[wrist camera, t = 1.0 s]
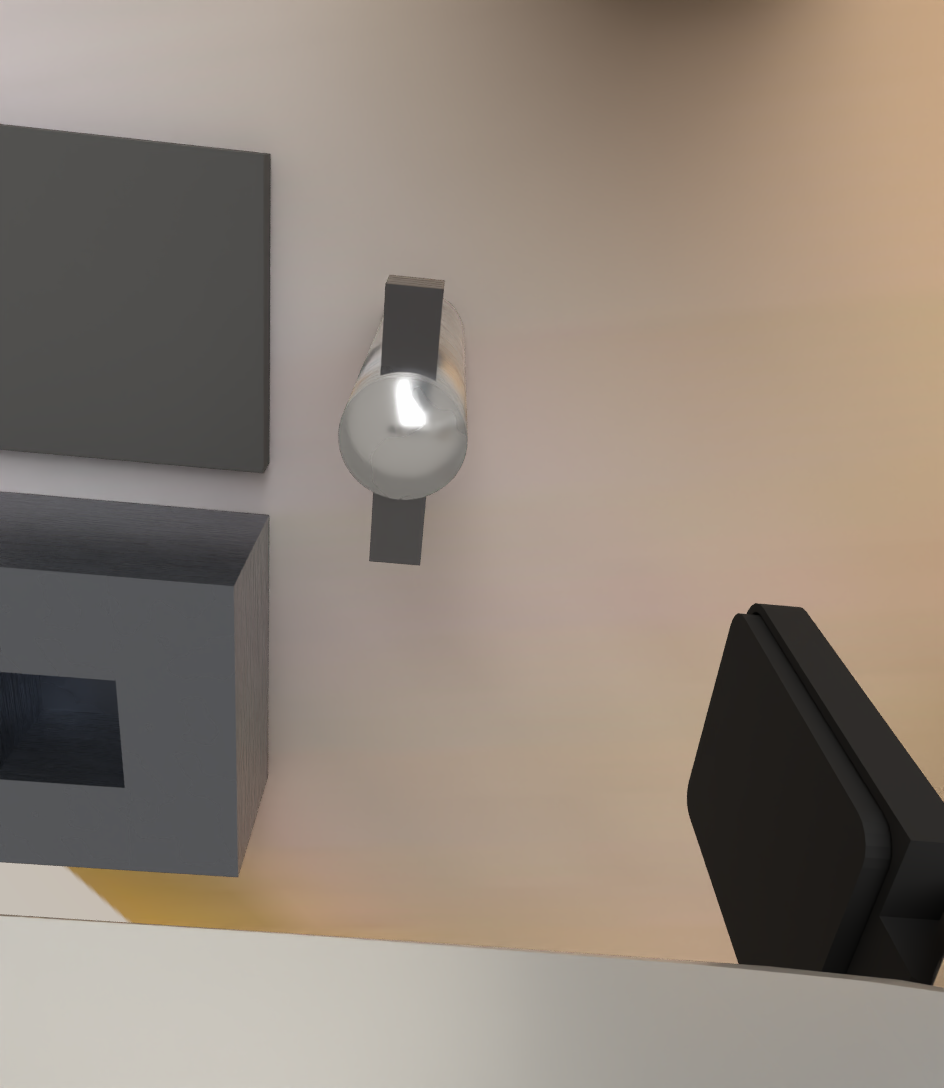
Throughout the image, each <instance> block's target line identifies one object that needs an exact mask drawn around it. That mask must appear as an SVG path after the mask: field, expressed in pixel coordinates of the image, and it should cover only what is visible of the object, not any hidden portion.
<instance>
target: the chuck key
mask: <svg viewBox="0 0 944 1088" xmlns="http://www.w3.org/2000/svg"><path fill="white" fill-rule="evenodd" d="M444 281H445V280H435V279H425V278H416V277H406V276H396V275H389V277H388V279H387V282H386V286H385V303H384V315H383V318H382V320H381V323H380V325H379V328H378V330H377V332H376V335H375V337H374V340H373V342H372V345H371V347H370V349H369V352H368V354H367V357H366V359H365V362H364V364H363V366H362V369H361V371H360V374H359V376H358V379H357V381H356V384H355V386H354V388H353V391H352V393H351V396H350V398H349V401H348V403H347V405H346V408H345V410H344V413H343V415H342V418H341V421H340V425H339V433H338V437H339V447H340V452H341V455H342V458H343V460H344V463H345V465H346V466H347V468H348V470H349V471H350V473H351V474H352V475H353V476H354V478H355V479H356V480H357V481H358V482H360V483H361V484H362V485H363V486H364V487H366V488H367V489H369V490H371V491H372V492H373V508H372V525H371V542H370V559H369V561H374V562H386V563H398V564H410V565H420V559H421V548H422V536H423V525H424V513H425V502H426V496H428V495H431V494H433V493H435V492H437V491H438V490H440V489H441V488H443V487H444V486H446V485H447V484H448V483H449V482H450V481H451V480H452V479H453V478H454V476H455V475H456V474H457V472H458V471H459V469H460V467H461V465H462V463H463V461H464V458H465V455H466V449H467V411H466V380H465V349H464V328H463V324H462V321H461V318H460V316H459V314H458V312H457V311H456V309H455V308H454V307H453V306H452V305H451V304H450V303H449V302H448V301H447V300H446V299H444V298H443V293H444Z"/></svg>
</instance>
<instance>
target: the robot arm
mask: <svg viewBox="0 0 944 1088" xmlns="http://www.w3.org/2000/svg"><path fill="white" fill-rule="evenodd" d="M687 806H688V812H689V816H690V819H691V822H692V825H693V828H694V831H695V834H696V837H697V840H698V843H699V846H700V849H701V852H702V855H703V858H704V861H705V864H706V867H707V870H708V873H709V876H710V879H711V882H712V885H713V888H714V891H715V894H716V897H717V900H718V903H719V906H720V909H721V912H722V915H723V918H724V921H725V924H726V927H727V930H728V933H729V936H730V939H731V942H732V945H733V948H734V951H735V954H736V957H737V960H738V963H739V964H730V963H716V962H702V961H688V960H674V959H660V958H645V957H631V956H617V955H603V954H589V953H575V952H561V951H547V950H533V949H519V948H505V947H490V946H475V945H460V944H445V943H430V942H414V941H399V940H384V939H369V938H354V937H339V936H323V935H308V934H293V933H278V932H263V931H247V930H232V929H217V928H202V927H186V926H171V925H156V924H140V923H125V922H124V923H123V922H110V921H93V920H78V919H63V918H48V917H33V916H17V915H2V914H0V1088H944V802H943V801H942V799H941V798H940V797H939V795H938V794H937V792H936V791H935V790H934V788H933V787H932V786H931V784H930V783H929V781H928V780H927V779H926V777H925V776H924V774H923V773H922V772H921V770H920V769H919V768H918V766H917V765H916V763H915V762H914V761H913V759H912V758H911V756H910V755H909V754H908V752H907V751H906V749H905V748H904V747H903V745H902V744H901V743H900V741H899V740H898V738H897V737H896V736H895V734H894V733H893V731H892V730H891V729H890V727H889V726H888V724H887V723H886V722H885V720H884V719H883V718H882V716H881V715H880V713H879V712H878V711H877V709H876V708H875V706H874V705H873V704H872V702H871V701H870V700H869V698H868V697H867V695H866V694H865V693H864V691H863V690H862V688H861V687H860V686H859V684H858V683H857V681H856V680H855V679H854V677H853V676H852V675H851V673H850V672H849V670H848V669H847V668H846V666H845V665H844V663H843V662H842V661H841V659H840V658H839V656H838V655H837V654H836V652H835V651H834V650H833V648H832V647H831V645H830V644H829V643H828V641H827V640H826V638H825V637H824V636H823V634H822V633H821V631H820V630H819V629H818V627H817V626H816V625H815V623H814V622H813V620H812V619H811V618H810V616H809V615H808V613H807V612H806V611H805V610H804V609H803V608H801V607H790V606H779V605H768V604H756V603H755V604H754V605H752V606H751V607H750V609H749V610H748V612H747V614H739V613H738V614H737V615H735V617H734V618H733V620H732V623H731V626H730V630H729V633H728V637H727V641H726V645H725V648H724V652H723V656H722V660H721V663H720V667H719V671H718V675H717V678H716V682H715V686H714V690H713V693H712V697H711V701H710V705H709V708H708V712H707V716H706V720H705V723H704V727H703V731H702V735H701V738H700V742H699V746H698V750H697V754H696V757H695V761H694V765H693V769H692V772H691V776H690V780H689V784H688V790H687Z"/></svg>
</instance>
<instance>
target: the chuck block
mask: <svg viewBox="0 0 944 1088" xmlns="http://www.w3.org/2000/svg"><path fill="white" fill-rule="evenodd" d="M268 638H269V515H263V514H252V513H240V512H229V511H217V510H206V509H194V508H183V507H171V506H160V505H148V504H137V503H125V502H114V501H102V500H91V499H79V498H68V497H57V496H45V495H34V494H22V493H11V492H0V862H6V863H22V864H23V863H24V864H38V865H53V866H69V867H85V868H100V869H116V870H132V871H148V872H163V873H179V874H195V875H210V876H226V877H238V876H239V873H240V869H241V866H242V862H243V859H244V856H245V852H246V849H247V846H248V842H249V839H250V835H251V832H252V829H253V825H254V822H255V818H256V815H257V812H258V808H259V805H260V801H261V798H262V795H263V791H264V788H265V785H266V781H267V778H268Z"/></svg>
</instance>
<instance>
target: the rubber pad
mask: <svg viewBox="0 0 944 1088" xmlns="http://www.w3.org/2000/svg"><path fill="white" fill-rule="evenodd" d="M269 390H270V154H267V153H258V152H249V151H240V150H231V149H222V148H212V147H203V146H194V145H185V144H176V143H167V142H158V141H149V140H140V139H131V138H122V137H113V136H104V135H95V134H86V133H77V132H68V131H59V130H50V129H41V128H32V127H22V126H13V125H4V124H0V449H1V450H12V451H23V452H34V453H45V454H57V455H68V456H79V457H90V458H101V459H112V460H123V461H135V462H146V463H157V464H168V465H179V466H190V467H201V468H212V469H224V470H235V471H246V472H257V473H264V471H265V470H266V468H267V466H268V464H269Z"/></svg>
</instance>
